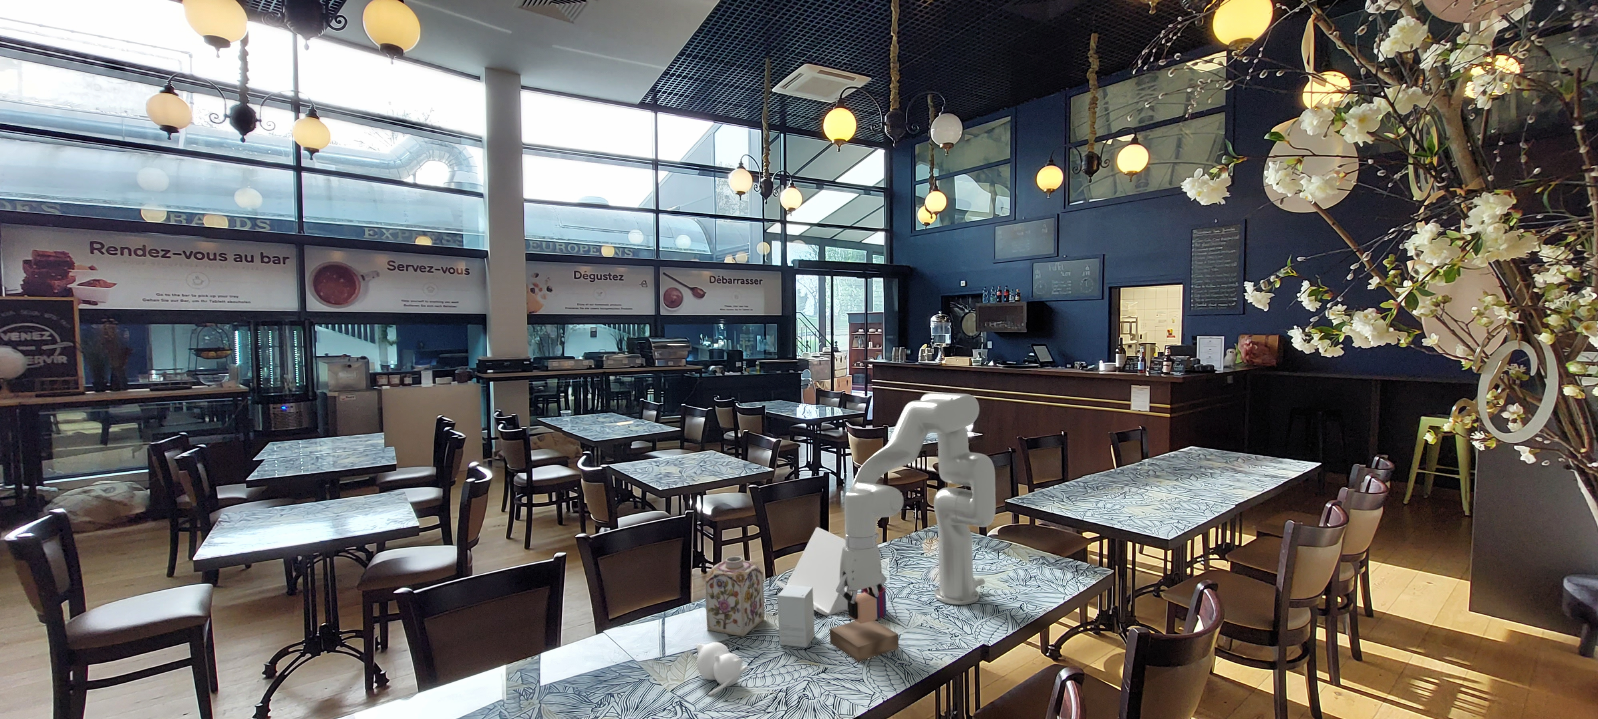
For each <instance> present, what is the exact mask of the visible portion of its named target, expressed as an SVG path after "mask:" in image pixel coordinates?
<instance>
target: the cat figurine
mask: <svg viewBox="0 0 1598 719" xmlns="http://www.w3.org/2000/svg"><path fill="white" fill-rule="evenodd" d="M695 647H696V651H697V658H696V668H697V670H698V672H699V674H700V676H701V677H703V678H704V679H705V680H707V681H715V680H716V681H717V683H718V684H720V685H719V686H718V687H716V688H714V689H713V690H712V691H709V693H707V696H709V697H710V696H714V695H715V694H717V693H719V692H721V691H722V690H723V689H724V688H725V687H730V686H733V685H735V684H736V683H737V682H738V681H739V680H740V679H741V676H742V674H743V673H744V672H746V671H747V670H748V669H749V665H743V664H744V658H740V657H739V655H737V654H735V653H733V652H732V653H730V651H729V649H728V647H727V646H726V645H725V644H723V643H721V642H717V641H715V642H714V641H713V642H710V643H707V644H703V643H698V644H696V646H695Z"/></svg>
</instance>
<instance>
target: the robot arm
mask: <svg viewBox="0 0 1598 719" xmlns="http://www.w3.org/2000/svg"><path fill="white" fill-rule="evenodd" d="M979 414H980V405H979V401H978V399H976V397H974V396H973V395H971V394H968V393H959V392H958V393H957V392H956V393H954V392H940V391H939V392H927V393H925V394H923V395H922V396H921V398H920V399H919V400H917V399H916V400H912V401H909V402H908V403H907V404H905V406H904V407H903V410H902V412H901V414H900V416H899V418H898V420H897V422H896V424H895V426H894V429H893V430H892V433H891V435H890V437H889V440H888V442H886V445H885V446H883V447H882V448H880V449H879V450H878V451H876V452H875V453H874V454H872V455H871V456H870V457H869V458H868V459H866V461H865V462H864V463H863V464H862V465H861V466H860V468H859V469H858V471H857V473H856V475H855V476H854V477H855V478H854V479H853V481H852V484H851V486H850V490H848V491H847V492H846V493H845V494H844V500H843V501H844V535H845V536H844V539H845V544H846V546H845V547H843V549H842V553H841V560H840V583H839V585H838V587H837V588H836V592H837V593H839V594H840V595H842V596H843V597H844V598H845V599H846V600H847V601H848V610H847V613H848V614H847V615H848V617H849V616H850V617H852V618H854V619H858V605H857V603H856V602H855V601H856V597H857V594H858V592H859V591H860V590H861V589H865V588H867V589H868V593H869V594H868V595H870V596H872V597H874V598H876V599H877V597H878V596H879V591H880V590H881V588H882V586H884V584H885V583H886V582H887V579H888V578H887V577H886V576H885V574H884V573H883V570H882V568H883V567H882V559H881V553H880V548H879V546H878V544H877V539H879V538H880V534H879V533H878V532H877V527H876V525H877V524H876V521H877V518H879V519H880V518H889V517H890V518H891V517H893V516H896V515H897V514H899V513H900V512H901V510H902V509H903V506H904V496H903V494H902V492H901V491H900V489H897V488H896V487H893V486H890V485H885V484H881V483H877V481H879V479H880V478H881V477H882V476H884V474H886V473H888V472H890V471H892V470H895V469H897V468H900V467H905V466H906V465H909V464H911V463H914V462H915V461H916V460H917V459H918V456H919V453H920V452H921V450H922V447H923V445H924V442H925V440H926V438H927V436H928V434H932V433H933V434H936V436H937V449H938V450H937V454H938V455H937V456H938V458H937V460H938V462H937V463H938V464H937V465H938V473H939V477H940V479H941V480H942V481H943V482H946V483H947V484H948V483H949V484H953V485H958V486H965V487H970V489H971V490H968V489H964V488H958V487H952V486H951V487H950V486H949V487H943V488H941V489H939V490H938V491H937V492H936V494H935V496H934V498H933V508H934V513H935V518H936V524H937V534H938V535H937V536H938V537H937V539H938V568H939V569H938V570H939V573H938V575H939V586H938V587H937V588H935V590H934V598H936V600H938V601H940V602H942V603H945V604H948V605H954V606H955V605H957V606H963V605H965V606H966V605H970V604H971V605H972V604H974V603H976V602H978V601H979V600H980V593H979V591H977V588H978V587H980V586H984V585H985V584H986V581H985V579H984V578H983V577H981V578H976V579H975V578H974V567H973V566H974V564H973V536H972V532H971V530H970V527H969V526H973V527H980V528H986V527H989V526H990V525H991V524H992V523H993V521H994V520H995V517H996V516H995V515H996V505H997V504H996V470H995V466H994V465H995V464H994V463H993V461H992V459H991V458H990V457H989V456H988V455H986V454H984V453H979V452H971V451H970V449H969V435H968V431H967V429H966V427H968V426H971V425H972V424H974V423H975V421H976V420H977V418H978V417H979ZM845 587H846V588H847V591H845V590H844V589H845ZM851 592H852V595H851ZM850 617H849V618H850Z"/></svg>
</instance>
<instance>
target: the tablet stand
mask: <svg viewBox="0 0 1598 719" xmlns="http://www.w3.org/2000/svg"><path fill="white" fill-rule="evenodd" d="M806 544H807V545H806V547H805V549H804V550H803V553H802V555H801V556H800V558H799V560H798V562H797V564H796V566H795V568H794V569H793V572H792V573H791V576H789V577H790V578H789V579H788V581H787V584H785V583H783V582H781V581H780V580H776V582H775V584H776V585H777V586H779V587H780V588H782V590H783V589H784V588H785V587H786V586H787V585H792V586H804V587H813V605H814V611H816V612H818V613H820V614H821V615H824V616H826V617H827V616H831V615H834V614H837V613H838V614H839V613H841V612H845V611H848V601H847V600H846V599H845V598H844V597H843V596H842V595H840V594H839V593H837V592H836V588H837V587H838V585H839V583H840V560H841V553H842V549H843V547H845V546H846V544H845V538H843V537H840V536H838V535H836V534H833V533H832V532H830V531H827V530H825V529H823V528H821V527H818V526H816V527H815V529H814V531H813V533H812V534H811V537H810V539H809V540H808V542H807V543H806ZM844 590H845V591H847V586H846V587H845V589H844ZM851 595H852V592H851Z"/></svg>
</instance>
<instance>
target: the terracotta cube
mask: <svg viewBox="0 0 1598 719" xmlns="http://www.w3.org/2000/svg"><path fill="white" fill-rule="evenodd" d="M855 602H856V603H857V605H858V619H854V618H852V617H850V616H849V615H848V618H849V619H851V620H853V621H856V622H858V623H860V624H862V623H866V622H869V621H872V620H875V621H876V620H877V619H878V618H877V599H876V598H874V597H872V596H870V595H868V594H866V593H865V592H864V593H861V592H860V593H857V597H856V601H855Z"/></svg>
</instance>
